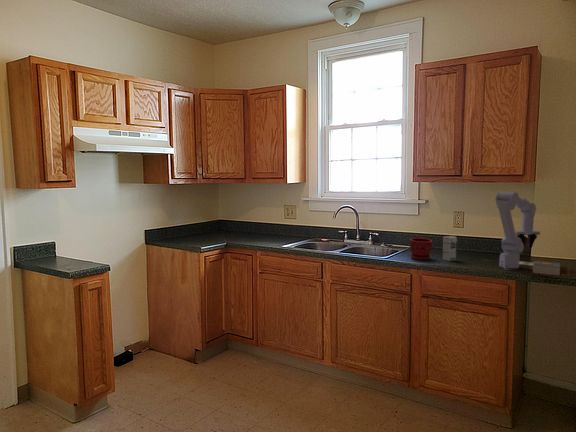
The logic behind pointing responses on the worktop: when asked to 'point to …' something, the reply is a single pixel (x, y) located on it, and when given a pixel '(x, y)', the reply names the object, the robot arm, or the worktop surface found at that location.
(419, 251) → the plant pot
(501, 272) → the worktop surface
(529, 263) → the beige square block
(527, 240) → the brown rectangular block
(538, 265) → the switch box
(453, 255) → the syrup box
